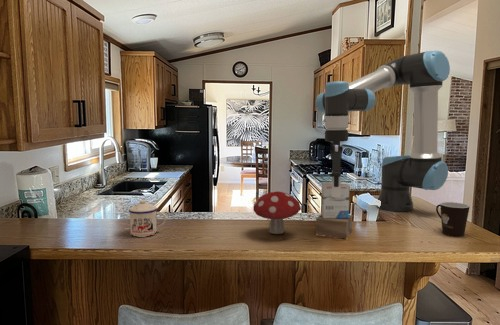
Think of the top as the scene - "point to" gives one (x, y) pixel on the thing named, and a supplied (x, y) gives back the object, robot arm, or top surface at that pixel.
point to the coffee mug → (453, 218)
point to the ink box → (335, 201)
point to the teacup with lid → (144, 218)
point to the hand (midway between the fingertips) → (336, 192)
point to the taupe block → (334, 226)
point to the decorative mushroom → (276, 209)
